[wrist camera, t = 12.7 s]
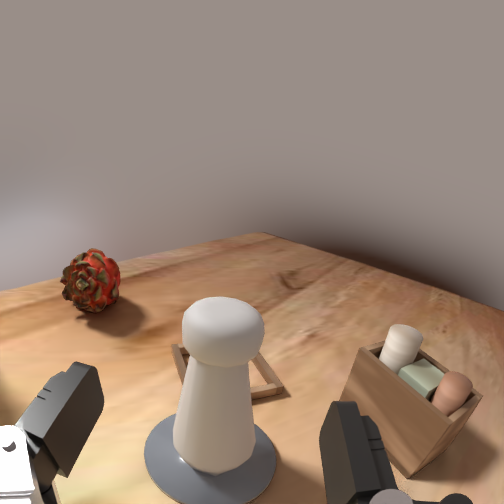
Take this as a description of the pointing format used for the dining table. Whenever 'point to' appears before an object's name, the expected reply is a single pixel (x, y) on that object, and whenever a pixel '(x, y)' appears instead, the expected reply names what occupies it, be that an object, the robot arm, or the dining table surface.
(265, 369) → the holder
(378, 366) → the caddy
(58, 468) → the robot arm
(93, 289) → the dragon fruit
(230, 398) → the salt shaker
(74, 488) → the dining table surface
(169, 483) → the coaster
